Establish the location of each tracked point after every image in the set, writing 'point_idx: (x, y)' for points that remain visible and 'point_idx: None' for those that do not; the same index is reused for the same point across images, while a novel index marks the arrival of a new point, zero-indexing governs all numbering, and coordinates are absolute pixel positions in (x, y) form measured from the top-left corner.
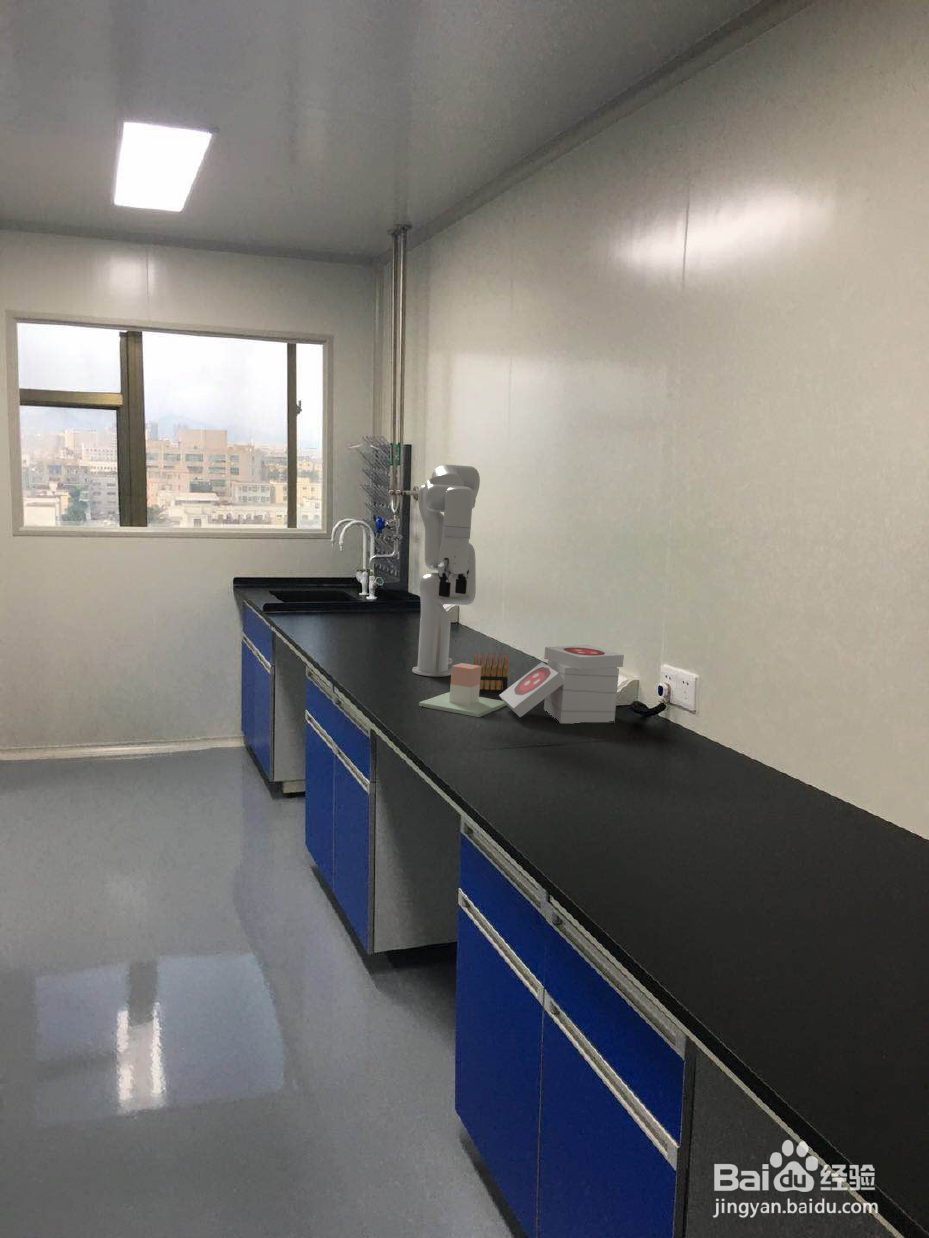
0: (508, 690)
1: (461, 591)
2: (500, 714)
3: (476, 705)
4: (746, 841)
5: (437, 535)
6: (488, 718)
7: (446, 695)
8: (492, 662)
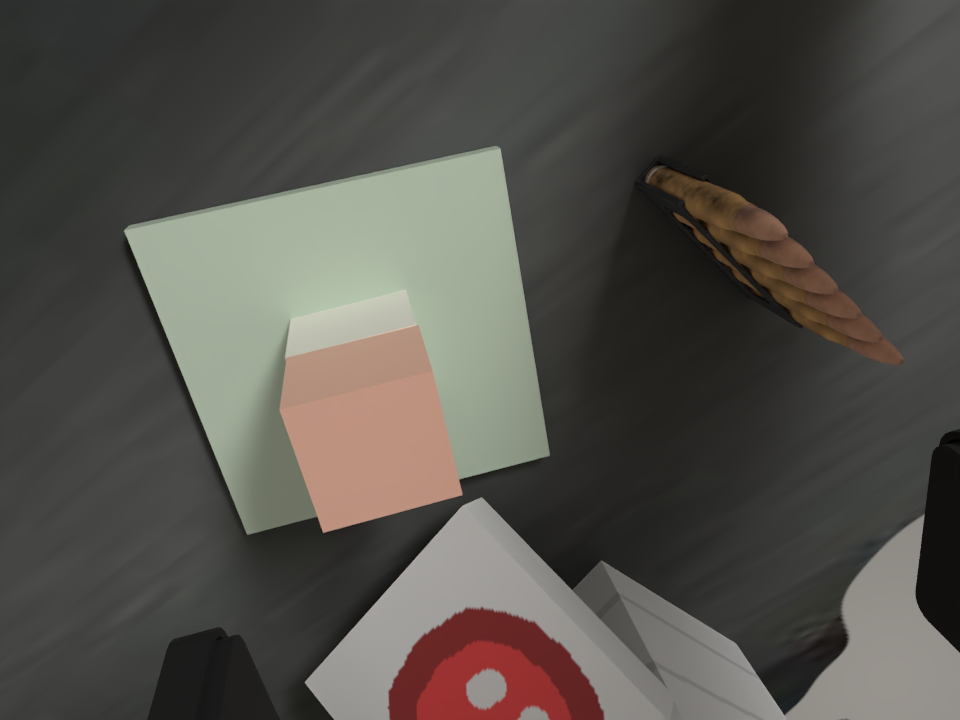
0: (475, 564)
1: (948, 583)
2: (376, 533)
3: None
4: None
5: None
6: (272, 554)
7: (401, 203)
8: (804, 291)
